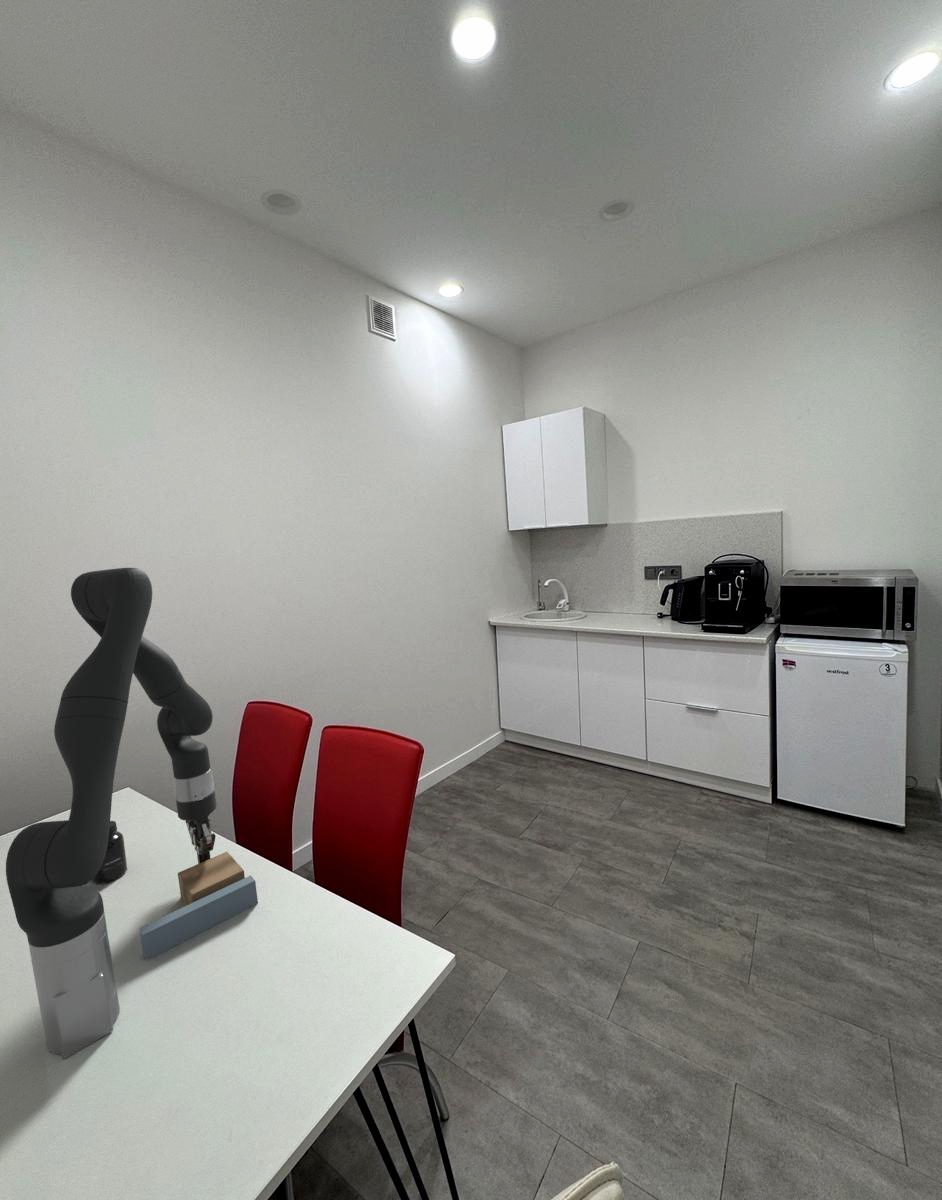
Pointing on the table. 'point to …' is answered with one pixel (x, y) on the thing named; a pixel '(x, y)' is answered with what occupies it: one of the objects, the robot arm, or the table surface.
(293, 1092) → the table surface
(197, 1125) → the table surface
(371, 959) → the table surface
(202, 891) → the walnut block
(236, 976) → the table surface
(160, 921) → the slate board
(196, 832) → the robot arm
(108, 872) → the supplement bottle
